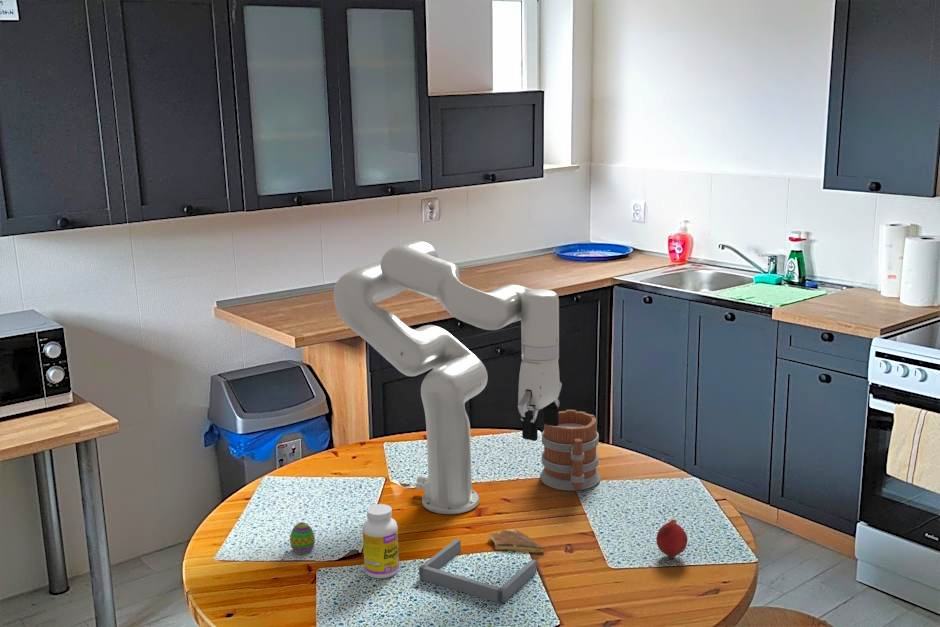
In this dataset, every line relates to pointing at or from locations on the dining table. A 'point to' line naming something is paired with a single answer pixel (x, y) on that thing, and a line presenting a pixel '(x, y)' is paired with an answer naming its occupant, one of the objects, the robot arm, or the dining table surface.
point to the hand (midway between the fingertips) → (540, 431)
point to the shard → (514, 541)
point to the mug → (570, 452)
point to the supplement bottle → (380, 542)
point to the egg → (302, 538)
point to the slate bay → (470, 586)
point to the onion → (671, 539)
